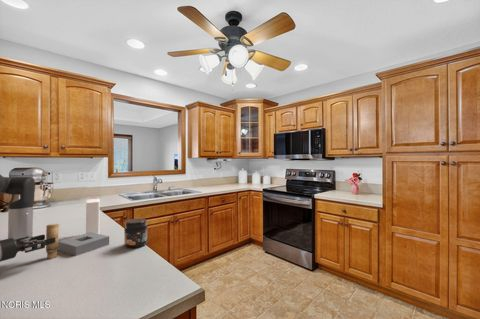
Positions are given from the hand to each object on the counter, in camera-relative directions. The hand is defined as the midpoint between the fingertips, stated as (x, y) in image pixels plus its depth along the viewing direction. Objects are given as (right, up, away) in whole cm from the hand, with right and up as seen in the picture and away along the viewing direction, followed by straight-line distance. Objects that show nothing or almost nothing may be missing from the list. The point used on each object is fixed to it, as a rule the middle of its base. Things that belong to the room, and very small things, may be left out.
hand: (49, 238), depth 95 cm
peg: (0, -8, +1) cm, 9 cm away
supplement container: (+30, -9, +15) cm, 35 cm away
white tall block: (-2, -9, +31) cm, 32 cm away
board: (+6, -9, +12) cm, 16 cm away
